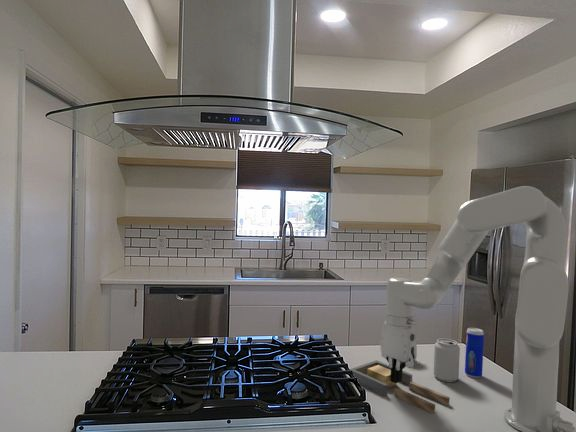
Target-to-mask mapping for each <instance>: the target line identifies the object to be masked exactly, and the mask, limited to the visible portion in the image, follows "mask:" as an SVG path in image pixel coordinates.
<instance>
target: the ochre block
mask: <svg viewBox="0 0 576 432" xmlns="http://www.w3.org/2000/svg"><path fill="white" fill-rule="evenodd" d="M367 375H368V376H370V377H372V378H374V379H377V380H379V381H381V382H383V383H385V384H388V388H387V389H389V388H391V387H394V386H397V383H394V382H391V370H390V369H387V368H385V367H382V366H380V365H376V366H374V367H371V368H368V372H367Z"/></svg>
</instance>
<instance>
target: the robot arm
mask: <svg viewBox="0 0 576 432" xmlns="http://www.w3.org/2000/svg"><path fill="white" fill-rule="evenodd" d="M456 216H457V217H456V218H455V221H454V223H453V224H452V226H451V227H450V229H449V230H448V232H447V233H446V235H445V236H444V238H443V239H442V240H441V241H440V244H439V246H438V249H437V255H436V258H435V260H434V262H433V263H432V266H431V267H430V269H429V270H428V271H427V273H426V274H425V276H424V278H422V280H421V281H418V282H413V281H412V280H411V279H409V278H406V277H391V278H389V279H388V281H387V283H386V303H385V304H386V305H385V306H386V307H385V321H384V322H383V326H382V328H381V329H382V331H381V336H380V346H379V347H380V353H381V357H382V358H383V359H385V360H386V361H387V364H388V365H389V367H390V368H391V382H394V383H396V384H398V383H400V382H401V381H402V371H404V370H403V369H405V368H413V367H414V366H415V363H414V361H415V360H417V356H418V355H417V354H418V351H417V350H418V348H417V346H418V345H417V344H418V343H416V341H417V334H416V329H415V327H414V326H415V325H416V321H415V320H414V319H413V308H418V309H421V310H431V309H433V308H434V307H436V305H438V303H440V302H441V300H442V299H444V297H445V295H446V294H447V292H448V291H449V289H451V286H452V285H453V283H454V282H455V280H456V279H457V278H458V276H459V275H460V273H461V272H462V270H463V269H465V267H466V266H467V264H468V263H469V262H470V260H471V258H472V256H474V254H475V253H476V251H477V250H478V248H479V246H480V245H481V244H482V242H483V240H484V239H486V236H487V234H489V232H490V231H494V230H498V229H500V228H506V227H510V226H514V225H517V224H522V223H523V224H524V225H525V228H526V237H525V249H524V259H523V264H522V268H521V271H520V274H519V275H520V276H519V285H518V293H517V294H518V297H517V304H516V305H517V306H516V312H515V316H514V317H515V319H514V321H515V323H514V325H515V330H514V349H513V350H514V351H513V352H514V353H513V369H512V371H513V373H512V395H511V408H507V409H506V410H505V411H504V415H503V416H504V417H503V418H504V420H505V422H506V423H508V424H509V426H511V427H513V428H514V429H516V430H518V431H519V432H576V426H574V422H571V421H568V420H565V419H563V418H562V417H561V411H559V410H557V404H558V403H557V402H558V401H557V400H558V397H557V396H558V380H559V379H558V377H559V365H560V364H559V363H560V362H559V361H560V341H561V339H562V337H563V335H564V331H565V330H564V329H565V324H566V323H565V322H566V314H567V306H568V298H569V290H570V289H569V286H570V285H569V277H568V275H567V273H566V271H565V270H566V269H565V266H566V255H567V239H568V235H567V234H568V231H567V230H568V228H567V223H566V219H565V217H564V214H563V212H562V211H561V209H560V208H559V206H558V205H557V204H556V203H555V202H554V201H553V200H551V199H550V198H549V197H547V196H546V195H545V194H544V193H543V192H542V191H541V190H540V189H539V188H536V187H534V186H531V185H530V186H529V185H522V186H517V187H513V188H510V189H507V190H504V191H501V192H500V191H499V192H496V193H493V194H490V195H486V196H483V197H479V198H475V199H471V200H468V201H466V202H464V203H463V204H462V205H461V206H460V208H458V211H457V215H456ZM413 360H414V361H413ZM401 383H402V382H401Z"/></svg>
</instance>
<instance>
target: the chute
mask: <svg viewBox="0 0 576 432" xmlns="http://www.w3.org/2000/svg"><path fill="white" fill-rule="evenodd" d="M408 387H409V388H408V389H409V390H410V391H412V392H414V393H417V394H419V395H421V396H423V397H426V398H428V399H430V398H431V400H433V399H434V400H433V401H435V402H437V401H438V403H441V404H442V405H444V404H445V405H444V406H449V405H450V399H451V398H450V396H447V395H446V394H442V393H440V392H438V391H435V390H433V389H430V388H428V387H426V386H423V385H422V384H419V383H416V382H414V381H412V382H410V383H409V385H408ZM393 394H394V396H393V397H397V398H399V399H400V400H402V401H405V402H407V403H410V404H411V405H413V406H416V407H418V408H420V409H422V410H424V411H426V412H429V413H430V414H434V413H436V404H435V403H433V402H430V401H428V400H426V399H423V398H422V397H419V396H417V395H415V394H412V393H410V392H408V391H406V390H403V389H401V388H399V387H396V388H394V393H393Z"/></svg>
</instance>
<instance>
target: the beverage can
mask: <svg viewBox="0 0 576 432" xmlns="http://www.w3.org/2000/svg"><path fill="white" fill-rule="evenodd" d="M465 336H466V339H465V359H464V361H465V362H464V373H465V375H466V376H468V377H469V378H473V379H480V378H482V376H483V365H484V362H483V361H484V342H485V333H484V330H483V329H480V328H478V327H468V328H467V330H466V335H465Z"/></svg>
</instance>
